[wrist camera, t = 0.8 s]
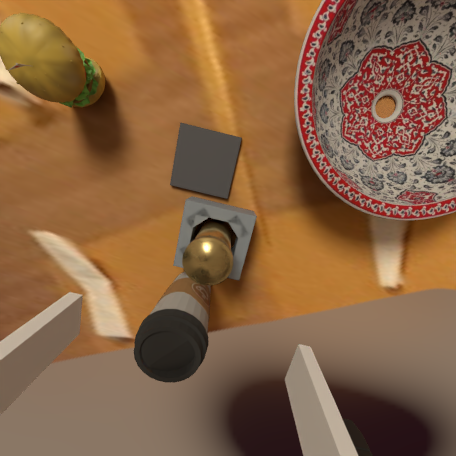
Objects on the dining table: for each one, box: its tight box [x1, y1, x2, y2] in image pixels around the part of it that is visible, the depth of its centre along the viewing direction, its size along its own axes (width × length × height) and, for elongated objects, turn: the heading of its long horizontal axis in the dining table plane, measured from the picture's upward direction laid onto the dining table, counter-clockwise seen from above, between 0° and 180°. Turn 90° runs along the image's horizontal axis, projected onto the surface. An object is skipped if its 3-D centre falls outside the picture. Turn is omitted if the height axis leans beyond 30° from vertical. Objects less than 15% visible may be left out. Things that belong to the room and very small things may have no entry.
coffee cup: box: [134, 272, 211, 382], centre depth 31 cm, size 8×8×15 cm
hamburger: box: [0, 13, 105, 108], centre depth 25 cm, size 8×7×12 cm
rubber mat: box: [170, 123, 242, 199], centre depth 33 cm, size 9×9×1 cm
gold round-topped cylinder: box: [182, 219, 233, 285], centre depth 30 cm, size 6×6×12 cm
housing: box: [173, 197, 257, 280], centre depth 33 cm, size 10×10×4 cm
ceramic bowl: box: [294, 0, 456, 220], centre depth 27 cm, size 29×29×8 cm
